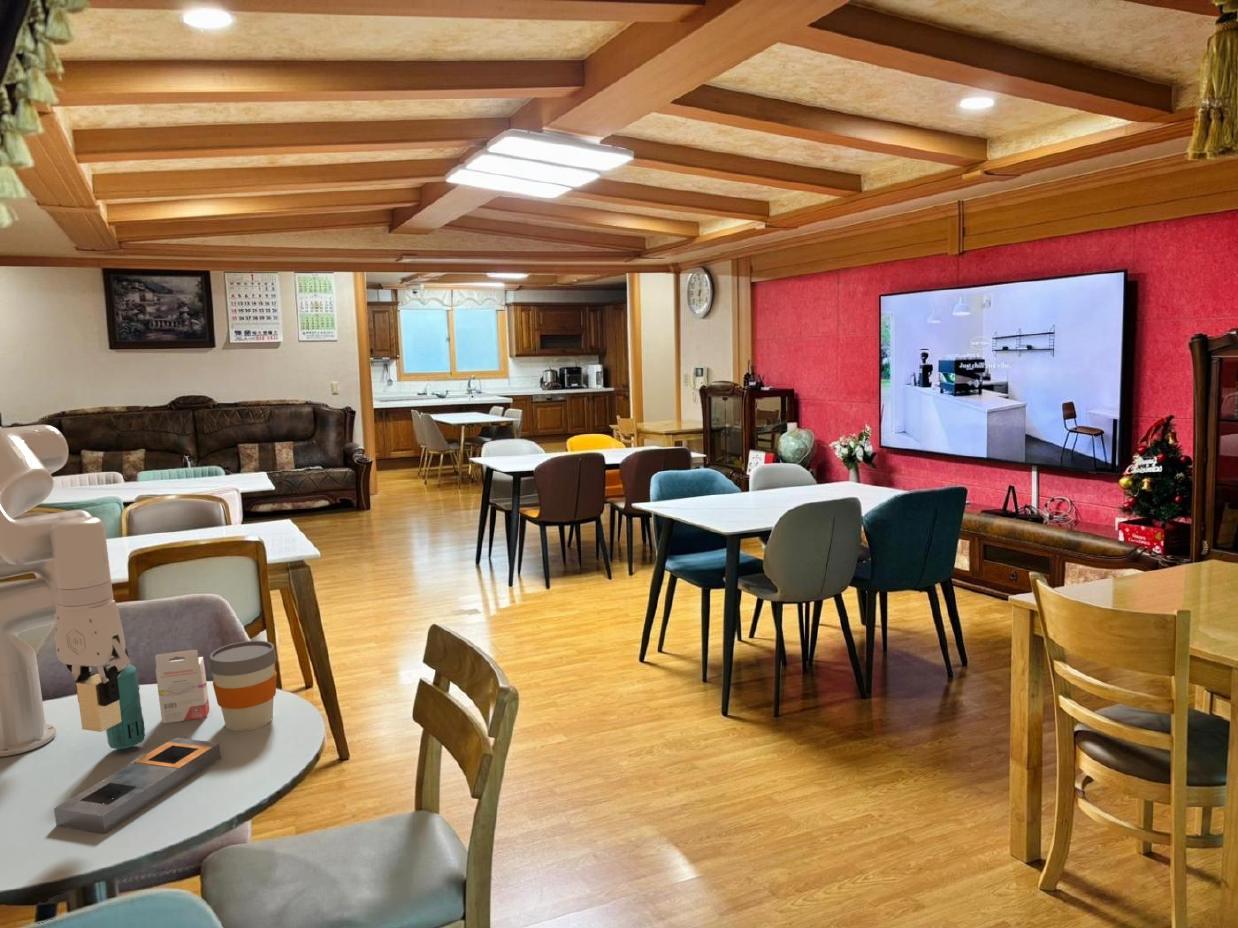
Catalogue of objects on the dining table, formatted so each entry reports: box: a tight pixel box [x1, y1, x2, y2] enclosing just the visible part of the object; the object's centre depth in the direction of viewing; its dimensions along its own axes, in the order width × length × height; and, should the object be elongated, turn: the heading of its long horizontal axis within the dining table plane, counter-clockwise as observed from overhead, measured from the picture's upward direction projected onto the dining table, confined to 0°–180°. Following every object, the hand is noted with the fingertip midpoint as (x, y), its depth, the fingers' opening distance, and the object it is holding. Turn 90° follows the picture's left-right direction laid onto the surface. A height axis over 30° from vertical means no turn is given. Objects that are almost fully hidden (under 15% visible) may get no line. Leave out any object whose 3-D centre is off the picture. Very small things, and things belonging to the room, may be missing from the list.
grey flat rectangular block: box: [53, 737, 222, 835], centre depth 156 cm, size 10×26×3 cm, turn 163°
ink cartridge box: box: [154, 649, 211, 724], centre depth 185 cm, size 9×5×15 cm, turn 106°
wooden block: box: [75, 673, 122, 733], centre depth 147 cm, size 4×4×8 cm
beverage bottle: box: [105, 647, 146, 750], centre depth 171 cm, size 6×7×20 cm
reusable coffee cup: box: [209, 640, 278, 732], centre depth 182 cm, size 13×13×15 cm
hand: (99, 700), depth 147 cm, fingers closed on wooden block, 4 cm apart
